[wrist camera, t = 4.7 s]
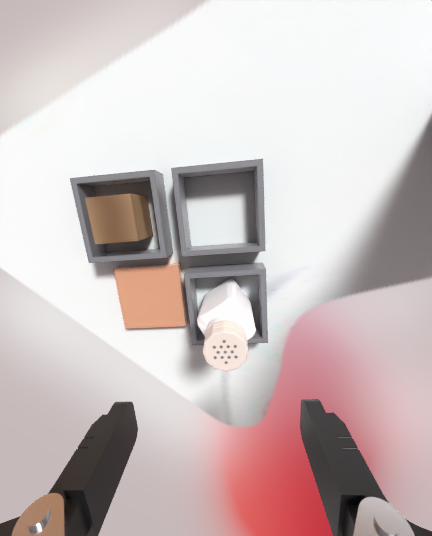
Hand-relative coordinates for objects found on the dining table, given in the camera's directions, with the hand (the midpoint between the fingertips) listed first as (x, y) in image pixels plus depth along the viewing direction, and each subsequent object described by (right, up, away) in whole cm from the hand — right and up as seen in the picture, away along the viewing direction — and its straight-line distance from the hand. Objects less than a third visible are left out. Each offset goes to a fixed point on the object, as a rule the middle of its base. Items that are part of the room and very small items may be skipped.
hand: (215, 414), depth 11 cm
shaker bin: (+1, +4, +14) cm, 15 cm away
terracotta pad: (-7, +4, +15) cm, 17 cm away
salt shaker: (+1, +4, +14) cm, 15 cm away
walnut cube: (-9, +12, +13) cm, 20 cm away
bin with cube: (-9, +12, +13) cm, 20 cm away
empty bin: (+1, +13, +12) cm, 17 cm away
